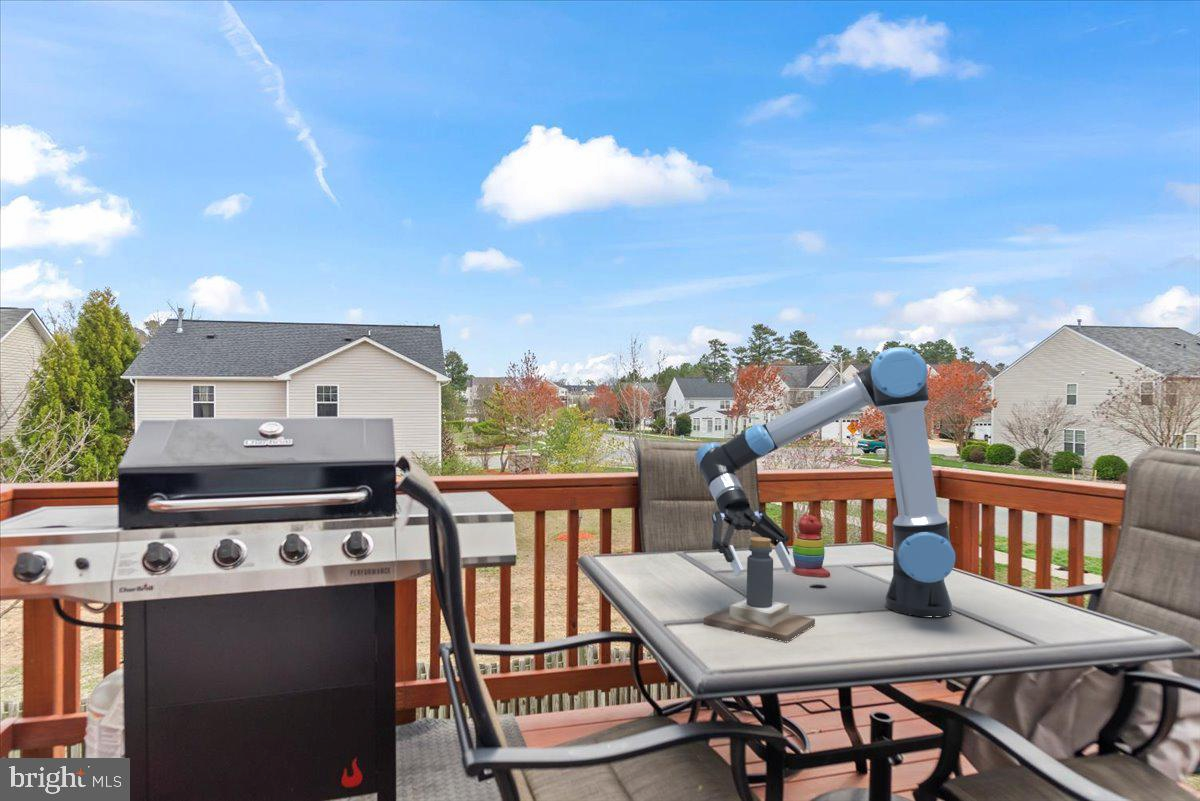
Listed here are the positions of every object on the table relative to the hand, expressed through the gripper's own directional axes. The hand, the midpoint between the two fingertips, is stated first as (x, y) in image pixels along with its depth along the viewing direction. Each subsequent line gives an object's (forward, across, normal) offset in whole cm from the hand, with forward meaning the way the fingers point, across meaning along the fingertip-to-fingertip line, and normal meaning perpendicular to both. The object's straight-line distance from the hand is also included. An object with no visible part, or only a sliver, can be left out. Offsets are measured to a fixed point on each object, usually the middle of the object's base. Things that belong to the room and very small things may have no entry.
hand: (765, 571), depth 158 cm
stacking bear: (-20, -46, -38) cm, 63 cm away
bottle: (+4, 0, -7) cm, 9 cm away
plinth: (+7, 0, -10) cm, 13 cm away
